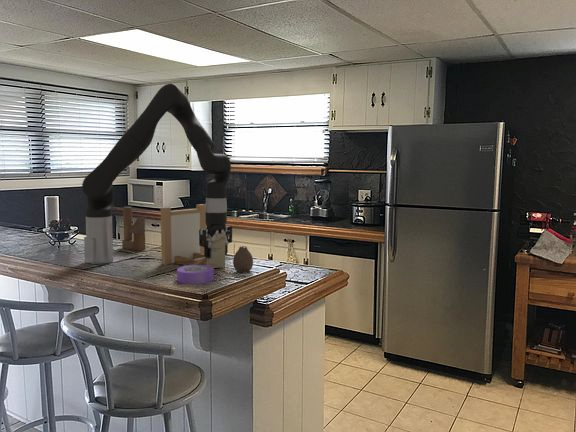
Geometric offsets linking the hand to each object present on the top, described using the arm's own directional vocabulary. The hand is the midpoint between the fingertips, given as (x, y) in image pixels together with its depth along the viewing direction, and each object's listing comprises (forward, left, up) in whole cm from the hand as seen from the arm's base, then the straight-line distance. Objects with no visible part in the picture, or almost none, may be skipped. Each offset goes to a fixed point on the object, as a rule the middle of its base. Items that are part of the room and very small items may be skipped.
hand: (216, 256), depth 177 cm
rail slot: (+1, +13, -4) cm, 14 cm away
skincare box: (0, 0, -4) cm, 4 cm away
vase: (+2, -11, -4) cm, 12 cm away
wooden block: (+3, +55, -4) cm, 55 cm away
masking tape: (-16, -7, -5) cm, 18 cm away
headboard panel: (+2, +19, -4) cm, 20 cm away
